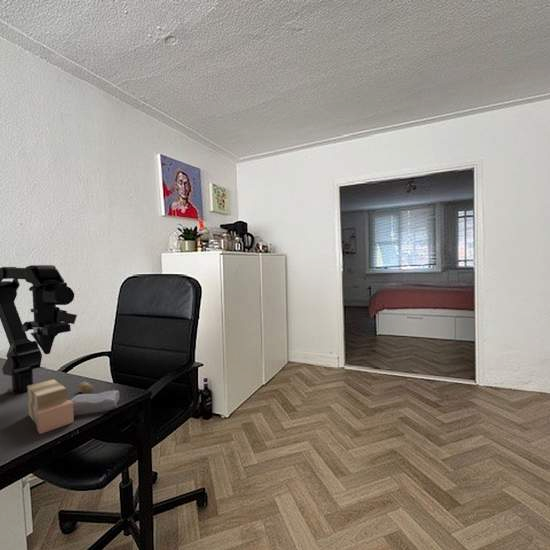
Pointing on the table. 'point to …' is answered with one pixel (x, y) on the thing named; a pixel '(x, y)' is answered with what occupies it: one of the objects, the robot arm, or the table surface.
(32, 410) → the notched wooden block
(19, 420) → the table surface
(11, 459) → the table surface
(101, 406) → the stone block
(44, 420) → the block
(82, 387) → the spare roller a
